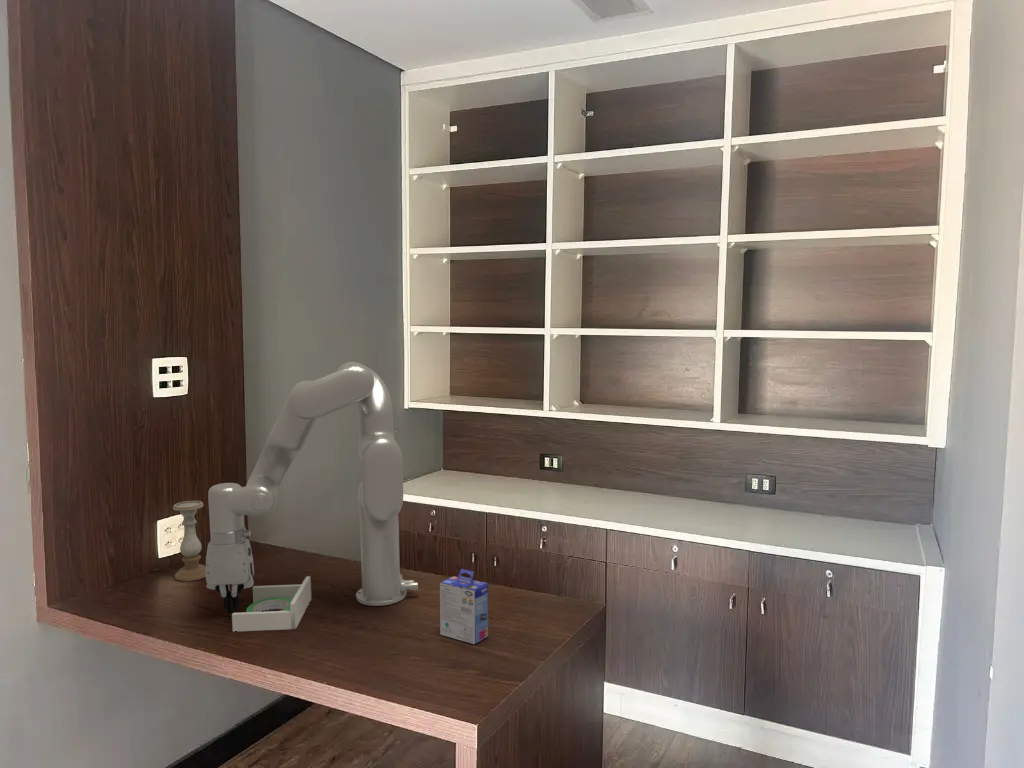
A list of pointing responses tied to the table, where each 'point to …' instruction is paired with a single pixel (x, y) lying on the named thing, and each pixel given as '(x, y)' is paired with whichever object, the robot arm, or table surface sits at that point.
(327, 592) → the table surface
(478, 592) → the ink cartridge box
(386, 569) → the robot arm
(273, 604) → the tape roll
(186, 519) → the candle holder
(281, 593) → the box
